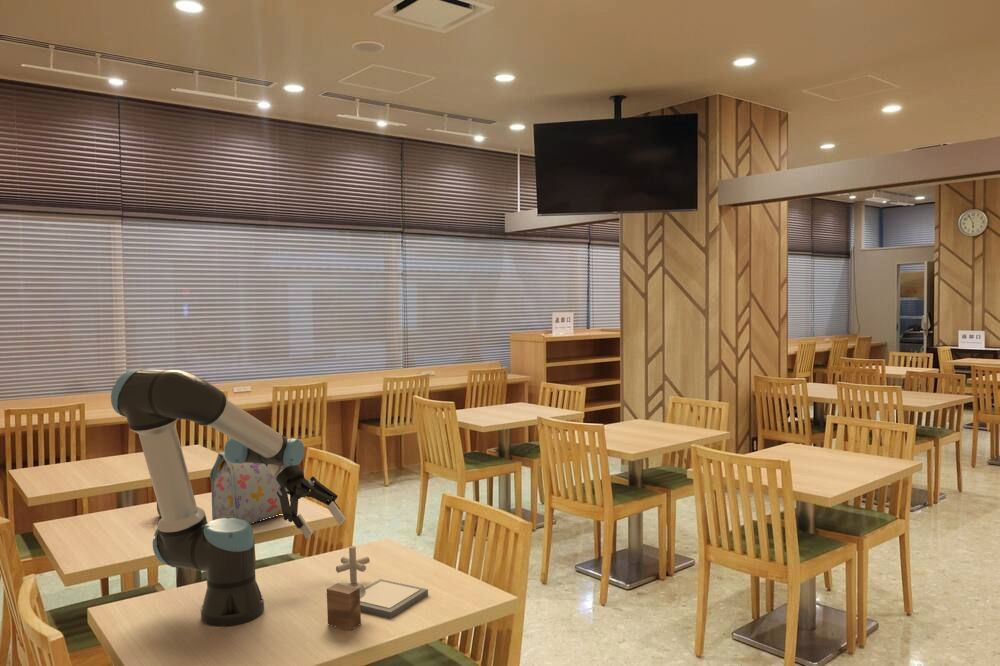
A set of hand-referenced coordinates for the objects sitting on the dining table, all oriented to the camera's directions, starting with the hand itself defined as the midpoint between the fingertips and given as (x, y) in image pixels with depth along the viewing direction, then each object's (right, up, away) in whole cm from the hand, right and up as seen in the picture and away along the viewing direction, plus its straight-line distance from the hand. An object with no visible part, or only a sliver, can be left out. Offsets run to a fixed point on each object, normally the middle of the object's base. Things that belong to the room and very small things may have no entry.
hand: (326, 528), depth 216 cm
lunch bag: (-41, -12, +57) cm, 71 cm away
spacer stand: (+17, -15, -22) cm, 32 cm away
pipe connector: (+9, -14, -5) cm, 17 cm away
